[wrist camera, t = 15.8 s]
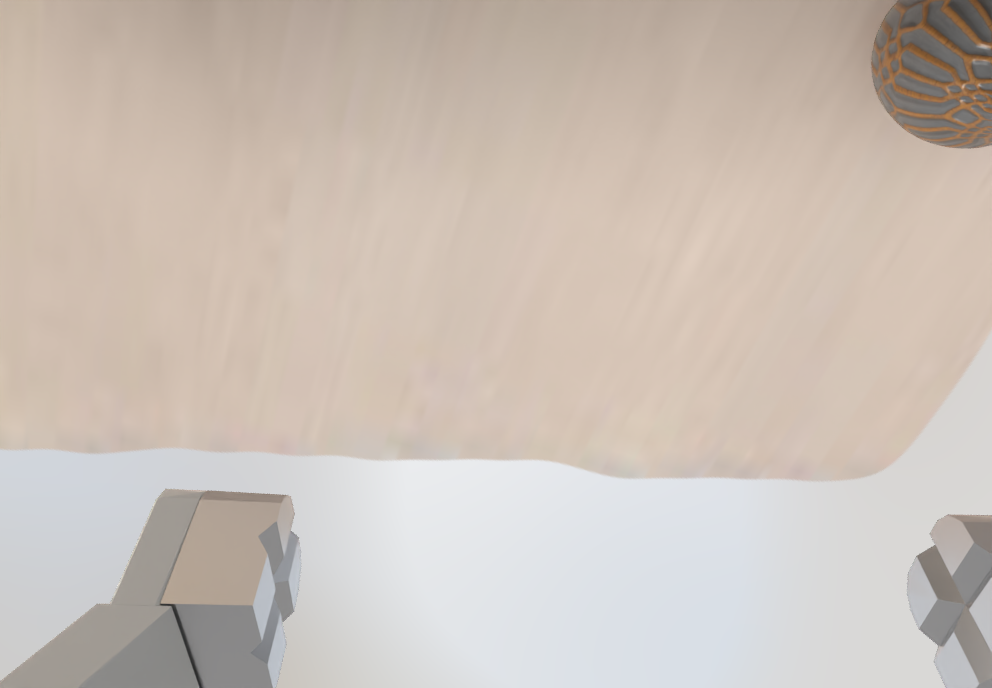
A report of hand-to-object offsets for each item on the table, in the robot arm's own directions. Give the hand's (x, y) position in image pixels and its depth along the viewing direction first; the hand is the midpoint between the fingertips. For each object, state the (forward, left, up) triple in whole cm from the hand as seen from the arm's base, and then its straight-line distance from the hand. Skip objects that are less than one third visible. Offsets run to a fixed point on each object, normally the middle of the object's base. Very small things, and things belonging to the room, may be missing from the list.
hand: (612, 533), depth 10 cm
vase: (+18, -2, -31) cm, 36 cm away
